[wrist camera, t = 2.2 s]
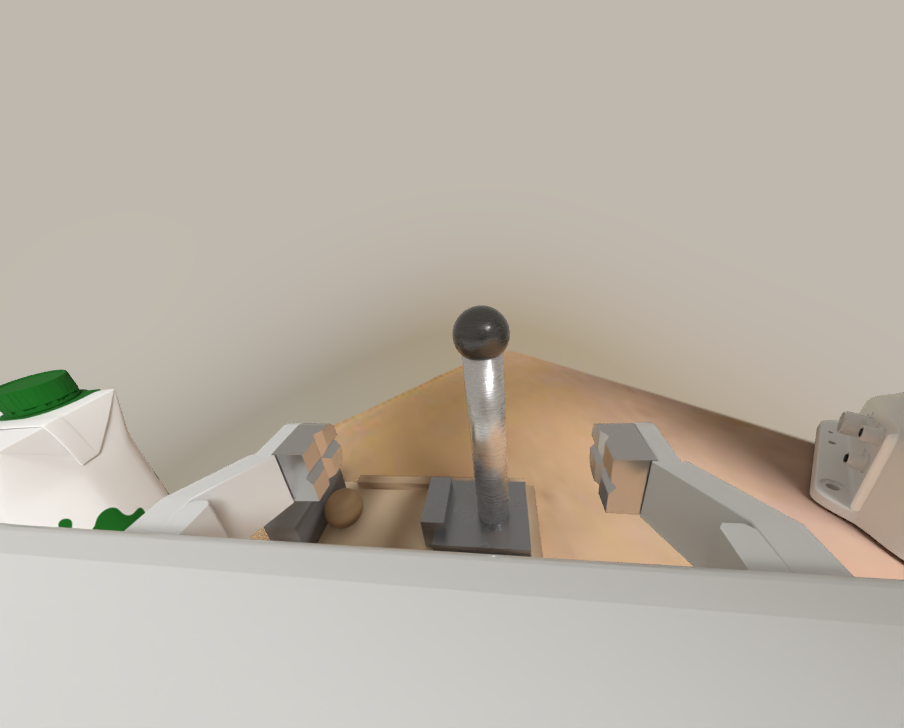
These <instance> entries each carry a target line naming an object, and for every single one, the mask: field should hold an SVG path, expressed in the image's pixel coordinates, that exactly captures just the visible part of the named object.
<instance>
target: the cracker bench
mask: <svg viewBox="0 0 904 728" xmlns="http://www.w3.org/2000/svg"><path fill="white" fill-rule="evenodd" d="M452 480H463V481H475V478H469V477H452ZM430 481H431V477H419V476H368V475H361V476H360V478H359V480H358V482H345V481H344V479H343V476H342V473H341V470H340V468H339V470H338V472H337V474H335V475H334V476H332V477H331V478H329V484H330V485H329V487H328V488H327V490H326V491H325V493H324V495H323V496H322V498H321V499H320V501H294V503H293V504H291V505H290V506H289V507H288V508H286V509H285V510H284V511H283V512H281V513H280V514H279V515H278V516H276V517H275V518H274V519H272V520H271V521H270V522H269V523H267V524H266V525H265V526H264V529H265V530H266V532H267V534H268V536H269V538H270V540H272V541H288V542H304V543H320V544H336V545H352V546H368V547H384V548H400V549H416V550H432V551H433V547H426V546H425V541H424V537H423V532H422V527H421V523H420V521H421V517H422V513H423V509H424V505H425V501H426V497H427V493H428V489H429V485H430ZM508 481H510V482H524V479H520V478H508ZM525 487H526V498H527V508H528V519H529V529H530V540H531V557H543V554H542V546H541V538H540V530H539V522H538V514H537V506H536V498H535V490H534V486H525Z"/></svg>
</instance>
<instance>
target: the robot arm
mask: <svg viewBox="0 0 904 728" xmlns="http://www.w3.org/2000/svg"><path fill="white" fill-rule="evenodd" d="M336 435H337V433H336V430H335V428H334V426H333V425H331V424H316V423H303V424H302V423H289V424H286V425H284V426H283V427H282V428H281V429H280V430H279V431H278V432H277V433H276V434H275V435H274V436H273V437H272V438H271V439H270V440H269V441H268V442H267V443H266V444H265V445H264V446H263V447H262V448H261V449H260V450H259V451H258V452H257V453H256V454H255V455H249V456H247V457H245V458H243V459H241V460H239V461H237V462H235V463H233V464H231V465H228V466H226V467H224V468H222V469H220V470H218V471H216V472H214V473H212V474H210V475H208V476H206V477H204V478H202V479H200V480H198V481H196V482H194V483H192V484H190V485H188V486H186V487H184V488H182V489H180V490H178V491H176V492H173V493H171V494H169V495H167V496H165V497H163V498H162V499H161V500H160V501H159V502H157V503H156V504H155V505H154V506H153V507H152V508H150V509H149V510H148V511H147V512H146V513H145V514H143V515H142V516H141V517H140V518H139V519H138V520H136V521H135V522H134V523H133V524H132V525H131V526H129V527H128V528H127V529H126V530H125V531H112V530H96V529H80V528H64V527H48V526H32V525H19V524H7V523H0V728H904V580H896V579H880V578H864V577H854V576H853V575H852V574H851V573H850V572H849V571H848V570H847V569H846V568H845V567H844V566H843V565H842V564H841V563H840V562H839V560H838V559H837V558H836V557H835V556H834V555H833V554H832V553H831V552H830V551H829V550H828V549H827V548H826V547H825V546H824V545H823V544H822V543H821V542H820V541H819V540H818V539H817V538H816V537H815V536H814V535H813V534H812V533H811V532H810V531H809V530H808V529H807V527H806V526H805V525H803V524H802V523H800V522H798V521H796V520H794V519H792V518H791V517H789V516H787V515H785V514H783V513H781V512H779V511H778V510H776V509H774V508H772V507H770V506H768V505H767V504H765V503H763V502H761V501H759V500H757V499H756V498H754V497H752V496H750V495H748V494H746V493H745V492H743V491H741V490H739V489H737V488H735V487H734V486H732V485H730V484H728V483H726V482H724V481H723V480H721V479H719V478H717V477H715V476H713V475H712V474H710V473H708V472H706V471H704V470H702V469H701V468H699V467H697V466H695V465H693V464H691V463H689V462H682V461H681V460H680V459H679V457H678V456H677V455H676V453H675V452H674V451H673V449H672V448H671V446H670V445H669V444H668V442H667V441H666V440H665V438H664V437H663V436H662V434H661V433H660V432H659V430H658V429H657V428H656V426H655V425H654V424H653V423H651V422H645V423H623V424H594V426H593V429H592V437H593V440H594V442H595V444H594V445H593V446H592V447H591V448H590V467H591V472H592V475H593V478H594V481H596V482H597V483H598V484H599V495H600V498H601V501H602V504H603V506H604V509H605V512H606V513H617V514H632V515H640V517H641V518H642V519H643V520H644V521H645V522H647V523H648V524H649V525H650V526H651V527H652V528H653V529H654V530H655V531H656V532H657V533H658V534H659V535H660V536H662V537H663V538H664V539H665V540H666V541H667V542H668V543H669V544H670V545H671V546H672V547H673V548H674V549H675V550H677V551H678V552H679V553H680V554H681V555H682V556H683V557H684V558H685V559H686V560H687V561H688V562H689V563H690V564H692V565H693V566H694V567H688V566H672V565H656V564H640V563H623V562H607V561H590V560H574V559H558V558H543V557H527V556H511V555H496V554H480V553H465V552H449V551H432V550H416V549H400V548H384V547H368V546H352V545H336V544H320V543H304V542H288V541H272V540H256V539H249V538H250V537H251V536H252V535H254V534H255V533H256V532H257V531H259V530H260V529H261V528H262V527H264V526H265V525H266V524H267V523H269V522H270V521H271V520H272V519H274V518H275V517H276V516H278V515H279V514H280V513H281V512H283V511H284V510H285V509H286V508H288V507H289V506H290V505H291V504H293V503H294V501H320V499H321V498H322V496H323V495H324V493H325V491H326V490H327V488H328V487H329V485H330V484H329V478H331V477H332V476H334V475H335V474H337V472H338V470H339V468H340V466H341V462H342V450H341V446H340V445H339V444H338V443H337V442H336V441H335V440H334V439H335V437H336ZM810 496H811V497H812V498H813V499H814V500H815V501H816V502H817V503H819V504H820V505H822V506H823V507H825V508H827V509H828V510H830V511H832V512H834V513H835V514H837V515H839V516H841V517H843V518H845V519H846V520H848V521H850V522H852V523H854V524H855V525H857V526H858V527H860V528H861V529H862V530H864V531H865V532H866V533H868V534H869V535H870V536H872V537H873V538H874V539H875V540H877V541H878V542H879V543H880V544H882V545H883V546H884V547H885V548H887V549H888V550H890V551H891V552H892V553H894V554H895V555H896V556H898V557H899V558H901V559H902V560H904V392H903V393H896V394H888V395H881V396H876V397H873V398H871V399H869V400H868V401H867V402H866V403H865V405H864V406H863V408H862V409H861V411H860V413H859V414H857V413H853V412H848V411H847V412H843V413H842V415H841V417H840V419H839V420H826V421H822V422H821V423H820V425H819V426H818V427H817V432H816V441H815V449H814V458H813V467H812V476H811V484H810Z"/></svg>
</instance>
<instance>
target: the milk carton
mask: <svg viewBox="0 0 904 728" xmlns="http://www.w3.org/2000/svg"><path fill="white" fill-rule="evenodd" d="M167 495H169V493H168V492H167V490H166V489H165V487H164V486H163V484H162V483H161V481H160V480H159V478H158V477H157V475H156V474H155V472H154V471H153V469H152V468H151V466H150V465H149V463H148V462H147V460H146V459H145V457H144V456H143V454H142V453H141V451H140V450H139V448H138V447H137V445H136V444H135V442H134V441H133V439H132V438H131V436H130V434H129V432H128V430H127V427H126V424H125V420H124V417H123V414H122V411H121V408H120V404H119V401H118V398H117V395H116V392H115V390H114V389H107V390H100V389H98V390H90V391H88V390H84V389H83V390H79V388H78V386H77V385H76V383H75V382H74V380H73V379H72V378H71V376H70V375H69V373H68V372H67V371H66V370H53V371H48V372H43V373H38V374H35V375H31V376H27V377H24V378H20V379H17V380H14V381H11V382H8V383H6V384H3V385H1V386H0V523H7V524H19V525H32V526H48V527H64V528H80V529H96V530H112V531H125V530H126V529H127V528H128V527H129V526H131V525H132V524H133V523H134V522H135V521H136V520H138V519H139V518H140V517H141V516H142V515H143V514H145V513H146V512H147V511H148V510H149V509H150V508H152V507H153V506H154V505H155V504H156V503H157V502H159V501H160V500H161V499H162V498H163V497H165V496H167Z"/></svg>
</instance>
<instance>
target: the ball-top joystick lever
mask: <svg viewBox="0 0 904 728" xmlns="http://www.w3.org/2000/svg"><path fill="white" fill-rule="evenodd" d="M509 335H510V331H509V326H508V323H507V321H506V319H505V318H504V316H503V315H502V314H501V313H500V312H499V311H497V310H496V309H494V308H492V307H488V306H474V307H471V308H469V309H467V310H465V311H464V312H463V313H462V314H461V315H460V316H459V317H458V318H457V320H456V322H455V325H454V328H453V341H454V344H455V347H456V348H457V350H458V352H459V353H460V354H461V355H462V359H463V369H464V379H465V389H466V399H467V409H468V418H469V428H470V438H471V448H472V458H473V468H474V477H475V481H463V480H452V477H431V481H430V485H429V489H428V493H427V497H426V501H425V505H424V509H423V513H422V517H421V521H420V523H421V527H422V532H423V537H424V541H425V546H426V547H433V551H449V552H465V553H480V554H496V555H511V556H527V557H531V540H530V529H529V519H528V508H527V498H526V487H525V482H510V481H508V465H507V441H506V417H505V393H504V368H503V352H504V350H505V349H506V347H507V345H508V342H509V337H510V336H509Z"/></svg>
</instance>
